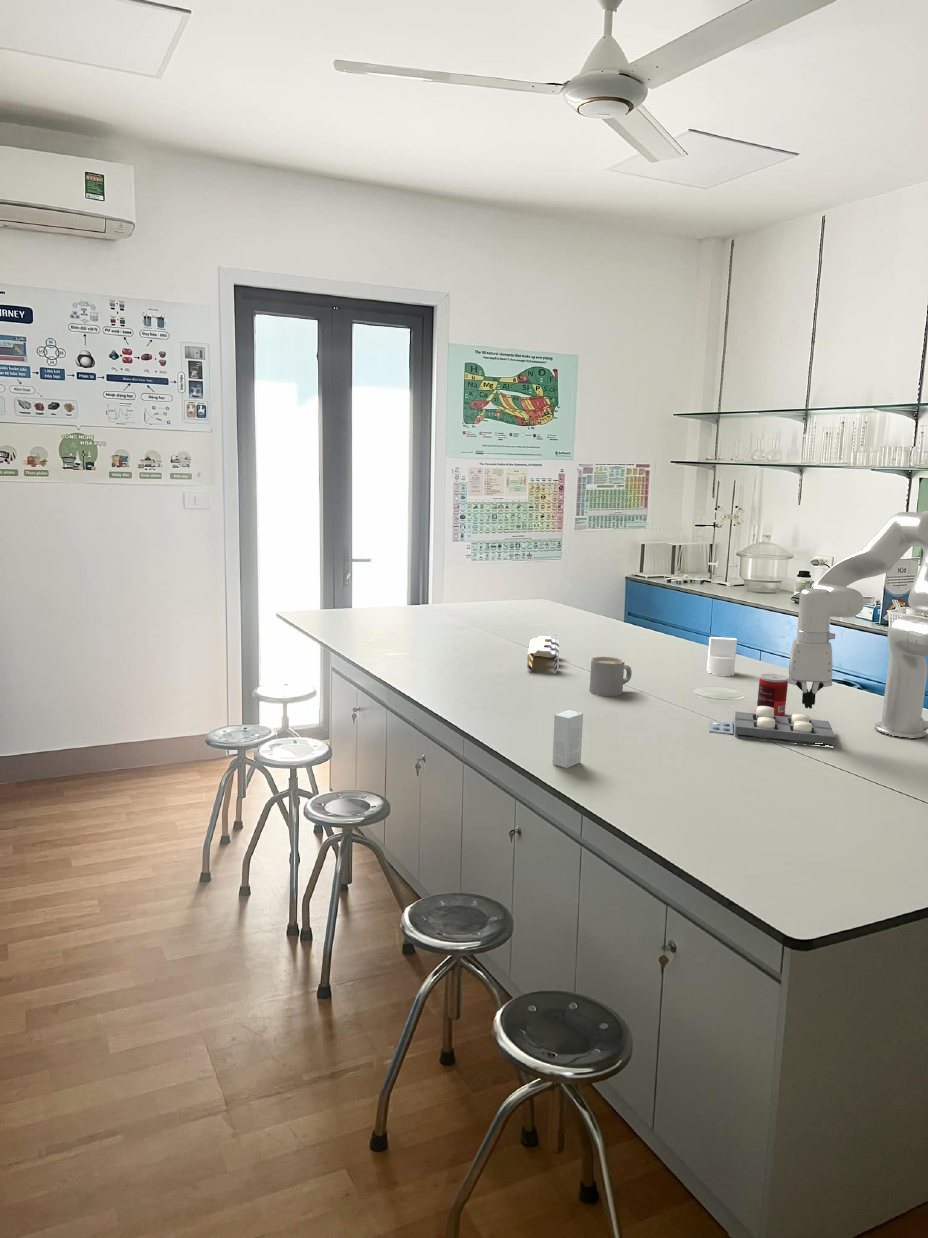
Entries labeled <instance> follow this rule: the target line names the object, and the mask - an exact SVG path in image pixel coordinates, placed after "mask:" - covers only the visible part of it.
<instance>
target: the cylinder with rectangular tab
mask: <svg viewBox="0 0 928 1238" xmlns="http://www.w3.org/2000/svg"><path fill="white" fill-rule="evenodd" d="M737 644H738V639H737V638H736V637H722V636H721V637H720V636H719V637H718V636H717V637H716V636H709V639H708V652H707V663H706V672H707V671H708V673H707V674H709V673H712V674H716V675H715V676H717V675H732V674H734V675H735V666H736V657H737V656H736V655H737V646H738V645H737ZM712 674H711V675H712ZM732 676H733V675H732Z"/></svg>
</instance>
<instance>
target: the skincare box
mask: <svg viewBox="0 0 928 1238" xmlns="http://www.w3.org/2000/svg"><path fill="white" fill-rule="evenodd" d="M553 719H554V723H553V741H552V742H553V744H552V745H553V746H552V747H553V748H552V765H553V764H554V766H557V765H558V766H557V767H560V766H561V767H560V768H564V769H569V768H571V767H573V766H575V765H577V764H580V763H581V760H582V745H583V743H582V741H583V724H584V722H583V721H584V713H583V712H580V711H574V710H570V709H567V710H565V711H561V712H559V713H556V714H554V717H553Z"/></svg>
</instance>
